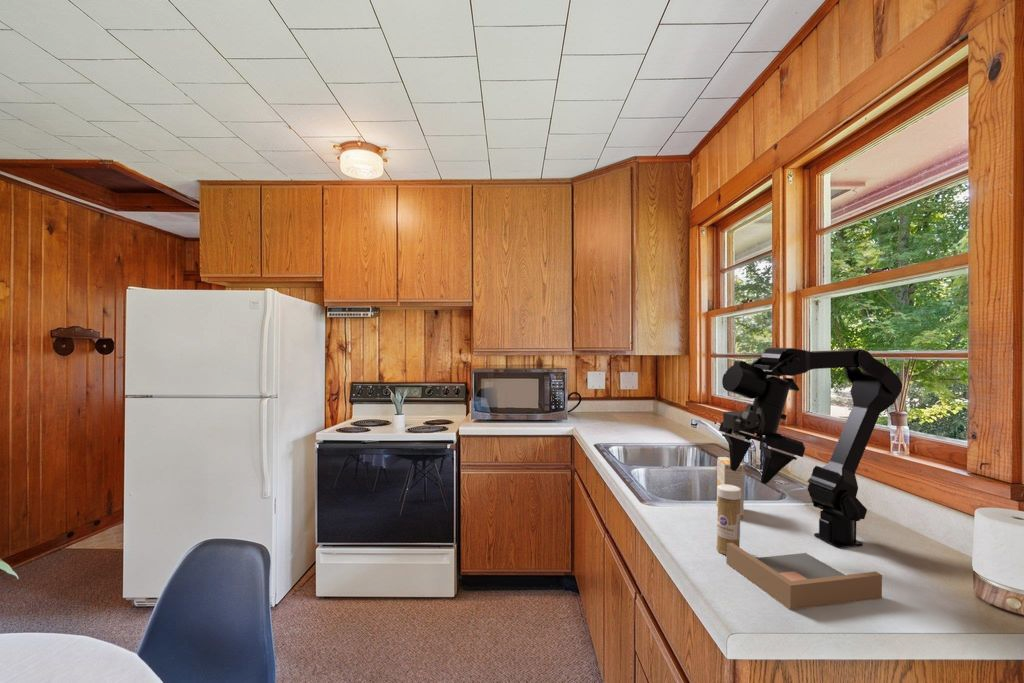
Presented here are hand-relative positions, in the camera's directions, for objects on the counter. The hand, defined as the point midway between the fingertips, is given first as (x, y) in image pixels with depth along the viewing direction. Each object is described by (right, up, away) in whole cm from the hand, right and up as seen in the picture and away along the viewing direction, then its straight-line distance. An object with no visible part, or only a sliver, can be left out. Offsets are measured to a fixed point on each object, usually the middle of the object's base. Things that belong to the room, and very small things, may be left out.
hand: (747, 476), depth 100 cm
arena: (+4, -15, -11) cm, 20 cm away
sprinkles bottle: (-4, -15, -1) cm, 16 cm away
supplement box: (+6, -15, +22) cm, 28 cm away
